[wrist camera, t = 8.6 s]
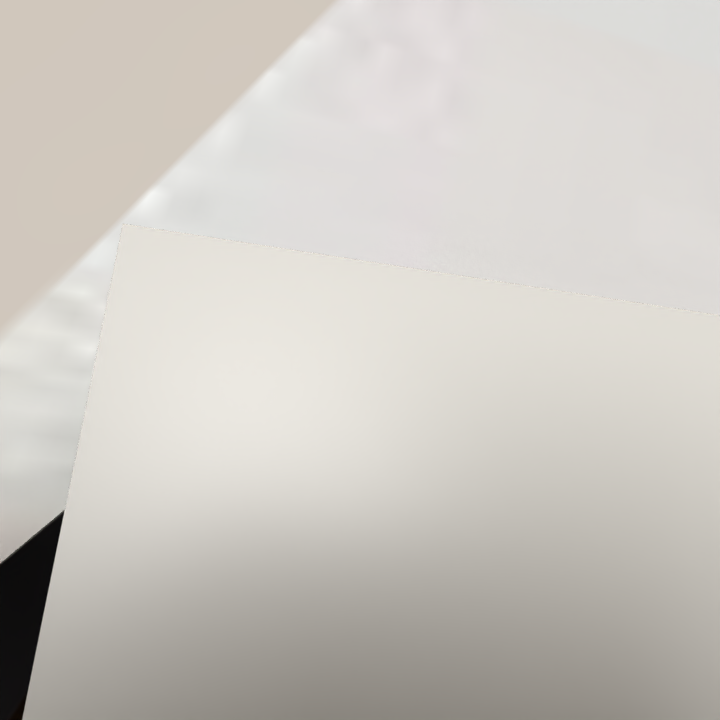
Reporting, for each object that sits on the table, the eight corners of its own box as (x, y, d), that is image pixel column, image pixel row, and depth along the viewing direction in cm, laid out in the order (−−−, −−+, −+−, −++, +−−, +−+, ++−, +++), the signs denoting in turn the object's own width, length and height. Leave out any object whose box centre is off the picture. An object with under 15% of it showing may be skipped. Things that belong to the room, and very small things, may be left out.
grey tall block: (397, 674, 15) (894, 1186, 4) (179, 662, 14) (-100, 1262, 3) (411, 460, 16) (804, 322, 5) (211, 438, 16) (116, 213, 4)
